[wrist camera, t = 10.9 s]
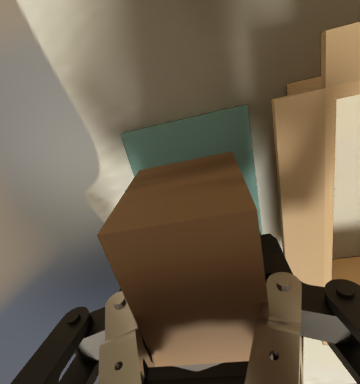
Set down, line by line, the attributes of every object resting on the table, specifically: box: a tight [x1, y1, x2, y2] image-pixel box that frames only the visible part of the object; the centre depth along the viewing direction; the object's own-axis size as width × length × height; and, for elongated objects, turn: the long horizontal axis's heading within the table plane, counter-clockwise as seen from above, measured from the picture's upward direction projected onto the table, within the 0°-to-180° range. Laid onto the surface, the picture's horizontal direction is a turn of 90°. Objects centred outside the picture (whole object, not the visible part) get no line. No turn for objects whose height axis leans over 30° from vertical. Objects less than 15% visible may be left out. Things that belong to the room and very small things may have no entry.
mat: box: [121, 105, 262, 235], centre depth 18 cm, size 13×8×1 cm, turn 13°
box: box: [97, 151, 268, 371], centre depth 12 cm, size 10×5×6 cm, turn 13°
